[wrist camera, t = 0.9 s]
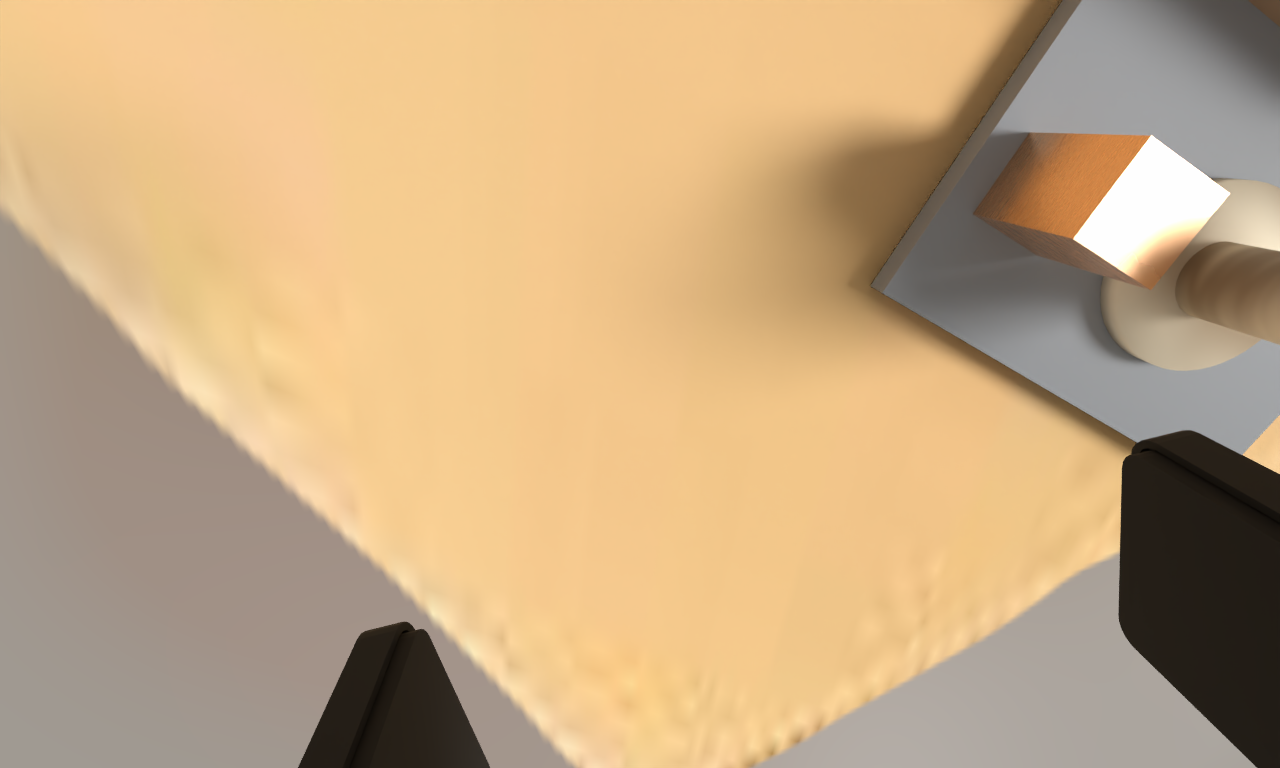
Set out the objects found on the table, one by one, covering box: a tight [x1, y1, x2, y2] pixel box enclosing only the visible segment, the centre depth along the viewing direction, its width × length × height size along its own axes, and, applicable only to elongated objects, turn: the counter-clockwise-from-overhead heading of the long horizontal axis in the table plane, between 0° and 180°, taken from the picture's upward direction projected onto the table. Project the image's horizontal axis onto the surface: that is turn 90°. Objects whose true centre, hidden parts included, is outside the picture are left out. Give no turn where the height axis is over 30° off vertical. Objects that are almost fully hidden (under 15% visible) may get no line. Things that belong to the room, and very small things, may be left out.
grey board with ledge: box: [870, 0, 1280, 455], centre depth 30 cm, size 20×23×6 cm
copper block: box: [973, 132, 1230, 290], centre depth 28 cm, size 4×4×7 cm
